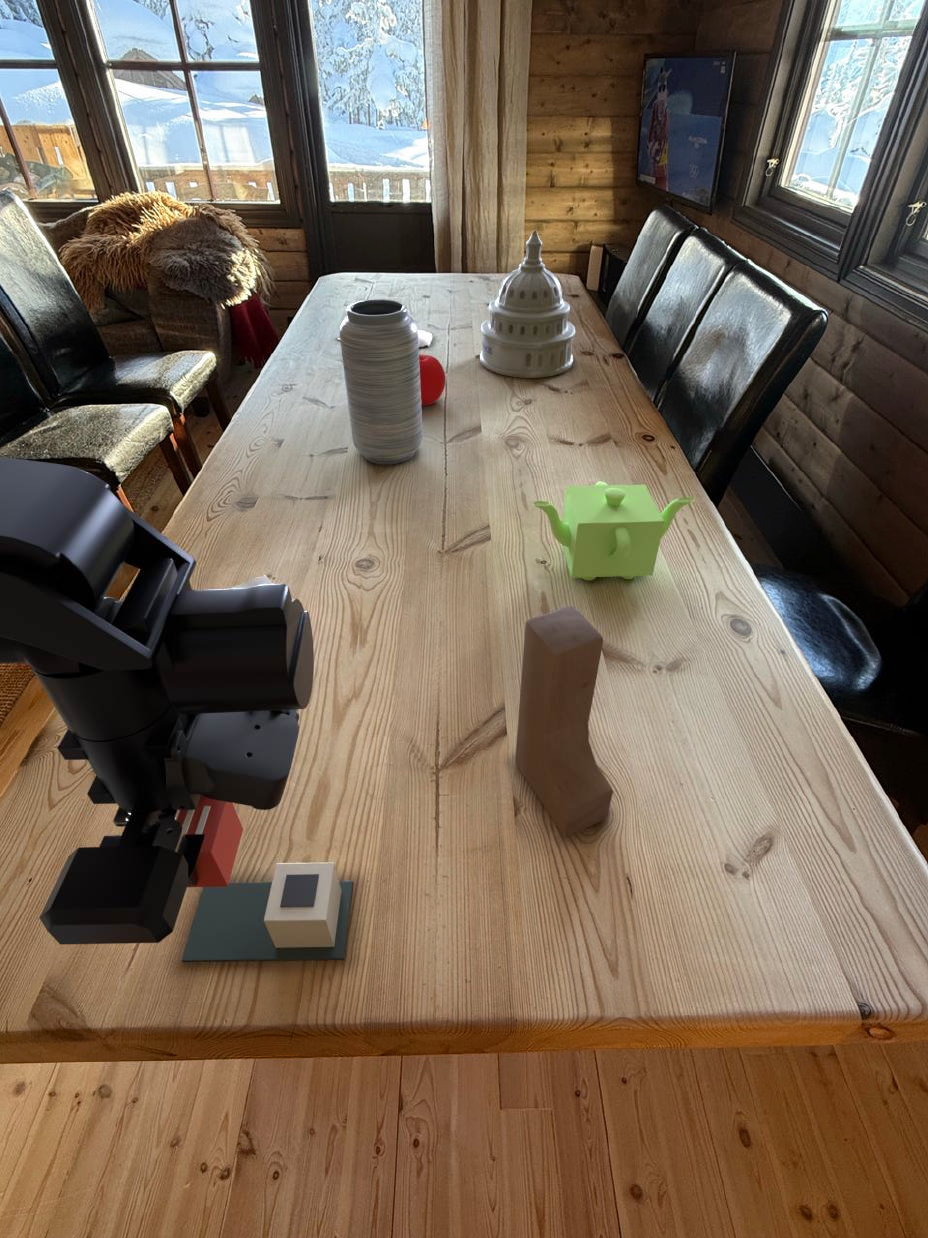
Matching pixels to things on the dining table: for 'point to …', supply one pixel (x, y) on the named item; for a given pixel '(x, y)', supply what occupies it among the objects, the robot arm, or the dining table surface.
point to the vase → (382, 380)
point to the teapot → (610, 529)
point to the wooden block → (561, 719)
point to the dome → (528, 322)
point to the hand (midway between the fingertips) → (200, 851)
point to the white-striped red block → (214, 839)
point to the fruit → (431, 379)
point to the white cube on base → (273, 918)
